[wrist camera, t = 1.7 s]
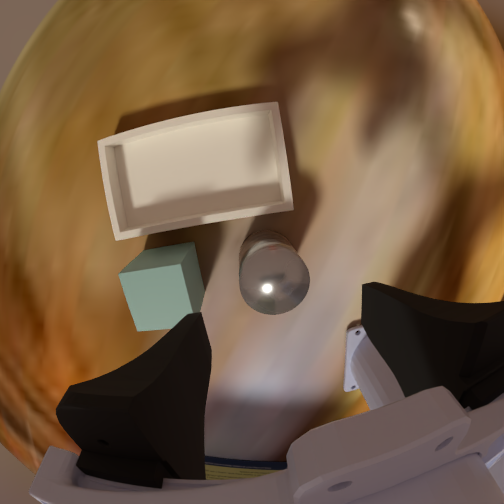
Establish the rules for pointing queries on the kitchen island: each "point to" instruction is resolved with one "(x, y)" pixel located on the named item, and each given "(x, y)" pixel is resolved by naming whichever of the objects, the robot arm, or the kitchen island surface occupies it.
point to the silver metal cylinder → (271, 273)
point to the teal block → (163, 286)
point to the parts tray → (196, 170)
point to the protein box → (239, 468)
